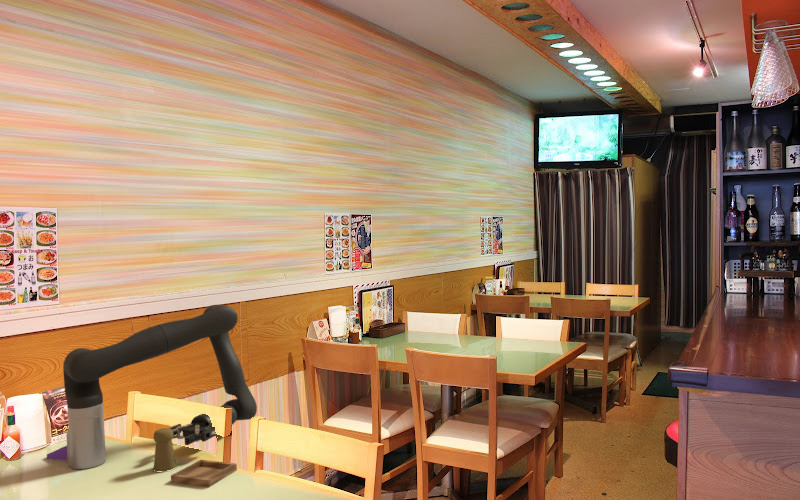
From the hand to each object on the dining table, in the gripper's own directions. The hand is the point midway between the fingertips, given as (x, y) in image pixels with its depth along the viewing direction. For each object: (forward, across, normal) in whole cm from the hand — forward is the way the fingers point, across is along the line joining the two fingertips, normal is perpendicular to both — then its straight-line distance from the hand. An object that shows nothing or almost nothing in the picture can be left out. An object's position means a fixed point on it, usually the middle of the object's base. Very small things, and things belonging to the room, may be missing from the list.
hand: (173, 440), depth 179 cm
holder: (+6, +15, +6) cm, 17 cm away
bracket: (+3, -36, +7) cm, 37 cm away
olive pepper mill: (+4, 0, +7) cm, 8 cm away
